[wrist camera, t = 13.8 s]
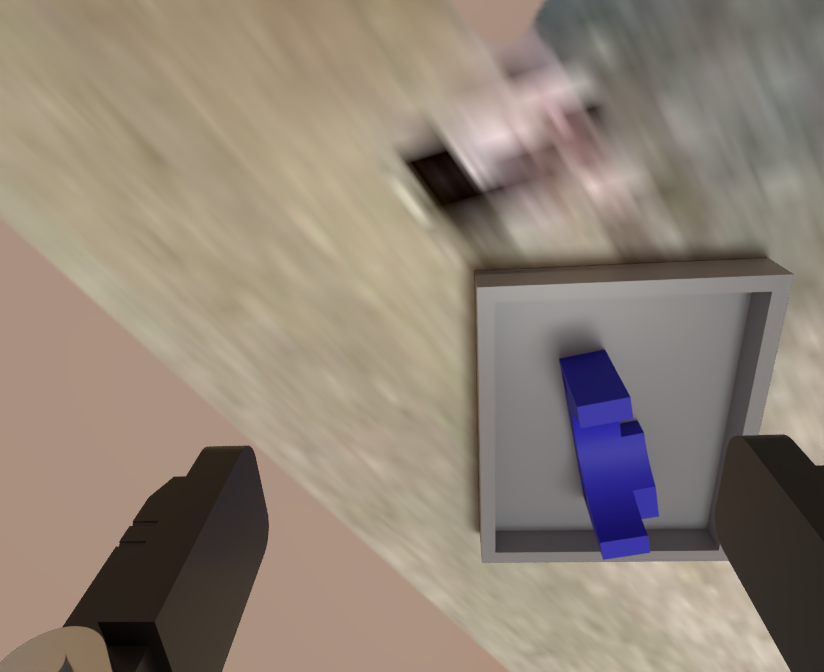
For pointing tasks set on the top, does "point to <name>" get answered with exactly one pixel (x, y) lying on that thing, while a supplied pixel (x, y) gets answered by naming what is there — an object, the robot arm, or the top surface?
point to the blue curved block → (609, 455)
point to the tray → (645, 382)
